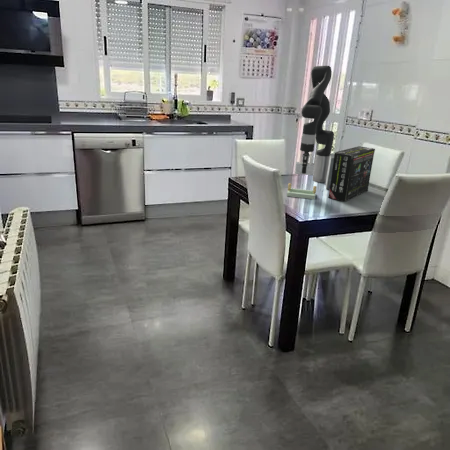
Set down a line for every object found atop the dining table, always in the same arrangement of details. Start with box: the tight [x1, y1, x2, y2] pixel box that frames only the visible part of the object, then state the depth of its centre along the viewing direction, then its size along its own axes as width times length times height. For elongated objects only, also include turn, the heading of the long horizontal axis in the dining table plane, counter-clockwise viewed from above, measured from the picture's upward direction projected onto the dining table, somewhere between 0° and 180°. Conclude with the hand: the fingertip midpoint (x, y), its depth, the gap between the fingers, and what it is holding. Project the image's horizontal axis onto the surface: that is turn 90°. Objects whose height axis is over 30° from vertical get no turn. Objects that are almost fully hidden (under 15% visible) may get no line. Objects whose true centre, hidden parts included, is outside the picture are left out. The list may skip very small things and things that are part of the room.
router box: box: [328, 145, 376, 203], centre depth 234 cm, size 36×11×27 cm, turn 141°
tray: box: [286, 182, 317, 200], centre depth 230 cm, size 11×16×6 cm
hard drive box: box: [325, 153, 335, 190], centre depth 250 cm, size 16×8×20 cm, turn 168°
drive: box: [294, 161, 315, 176], centre depth 226 cm, size 5×10×6 cm, turn 84°
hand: (304, 172), depth 227 cm, fingers closed on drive, 5 cm apart
